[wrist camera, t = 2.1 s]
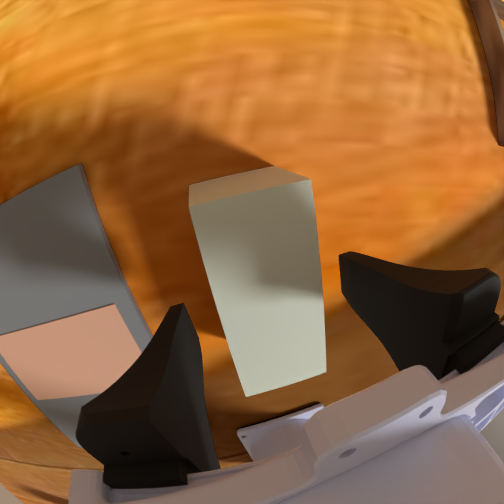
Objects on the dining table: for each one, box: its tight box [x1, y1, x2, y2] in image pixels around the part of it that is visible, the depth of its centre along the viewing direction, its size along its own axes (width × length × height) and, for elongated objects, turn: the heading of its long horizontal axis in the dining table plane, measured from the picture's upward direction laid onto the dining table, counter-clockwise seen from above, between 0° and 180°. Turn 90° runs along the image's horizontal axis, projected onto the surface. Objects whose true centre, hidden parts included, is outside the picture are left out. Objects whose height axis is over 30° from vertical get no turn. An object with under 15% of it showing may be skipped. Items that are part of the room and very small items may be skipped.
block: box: [188, 166, 326, 397], centre depth 14 cm, size 10×4×5 cm, turn 11°
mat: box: [0, 163, 153, 448], centre depth 16 cm, size 22×14×1 cm, turn 13°
